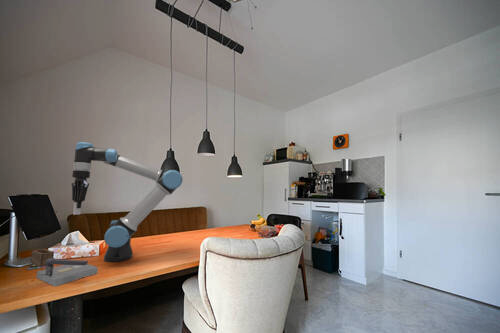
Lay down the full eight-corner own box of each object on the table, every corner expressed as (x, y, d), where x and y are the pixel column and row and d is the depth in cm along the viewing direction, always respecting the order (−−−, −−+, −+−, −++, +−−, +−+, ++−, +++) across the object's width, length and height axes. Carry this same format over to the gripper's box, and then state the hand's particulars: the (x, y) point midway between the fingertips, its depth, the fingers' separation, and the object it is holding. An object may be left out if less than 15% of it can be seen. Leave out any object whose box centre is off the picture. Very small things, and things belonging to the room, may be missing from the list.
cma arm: (43, 264, 97) (44, 260, 97) (50, 262, 100) (50, 258, 100) (82, 266, 96) (83, 261, 96) (88, 264, 99) (89, 259, 100)
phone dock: (42, 261, 123) (44, 248, 124) (52, 265, 118) (54, 251, 119) (30, 264, 119) (31, 250, 120) (39, 268, 113) (41, 254, 114)
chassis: (78, 267, 116) (79, 253, 117) (97, 273, 108) (98, 258, 109) (35, 278, 101) (37, 262, 101) (54, 286, 93) (56, 269, 93)
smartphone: (25, 271, 110) (25, 268, 110) (36, 262, 123) (36, 260, 123) (46, 268, 114) (46, 266, 114) (54, 260, 127) (55, 258, 127)
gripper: (67, 170, 117) (62, 214, 115) (80, 169, 112) (74, 215, 109) (83, 171, 124) (78, 213, 121) (95, 171, 118) (91, 214, 116)
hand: (76, 214), depth 115 cm, fingers closed
